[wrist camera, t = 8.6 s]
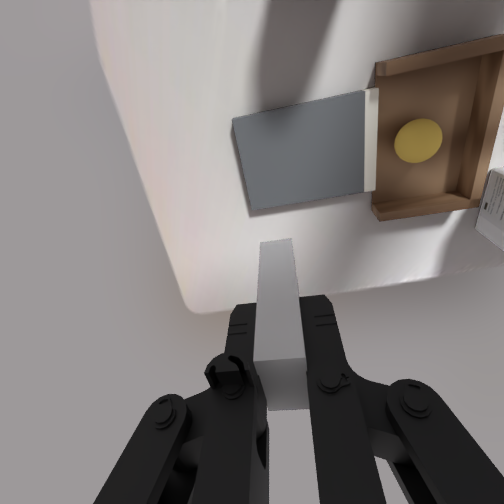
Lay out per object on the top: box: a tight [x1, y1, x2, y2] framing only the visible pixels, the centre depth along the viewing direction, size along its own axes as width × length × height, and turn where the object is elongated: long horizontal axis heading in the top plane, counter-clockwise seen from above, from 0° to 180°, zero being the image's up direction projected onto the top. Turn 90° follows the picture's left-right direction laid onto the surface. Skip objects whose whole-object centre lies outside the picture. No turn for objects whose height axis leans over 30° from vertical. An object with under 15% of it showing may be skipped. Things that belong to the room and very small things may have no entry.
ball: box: [394, 118, 442, 163], centre depth 27 cm, size 4×4×4 cm
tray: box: [372, 34, 504, 221], centre depth 28 cm, size 15×10×3 cm, turn 12°
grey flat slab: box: [232, 87, 379, 210], centre depth 30 cm, size 10×14×1 cm
